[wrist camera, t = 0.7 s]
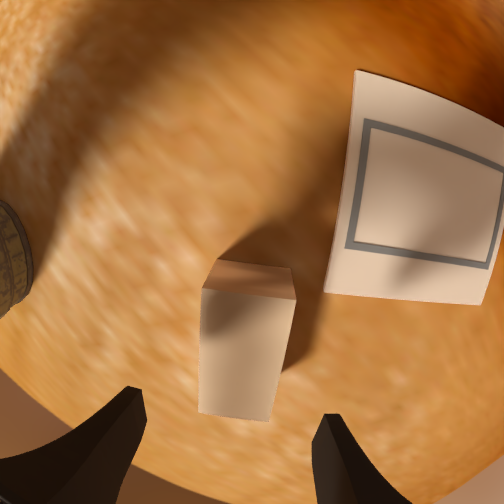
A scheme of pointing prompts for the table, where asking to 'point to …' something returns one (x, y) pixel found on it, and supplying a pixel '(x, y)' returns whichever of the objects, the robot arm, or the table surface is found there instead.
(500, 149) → the mat
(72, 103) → the table surface
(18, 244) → the thermos
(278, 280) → the tall beige pillar block
